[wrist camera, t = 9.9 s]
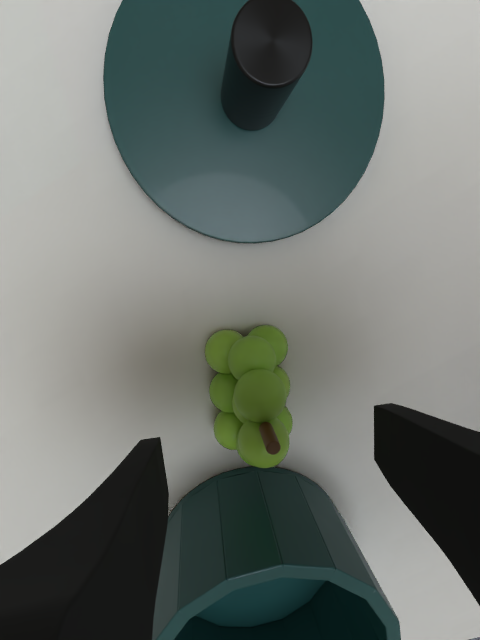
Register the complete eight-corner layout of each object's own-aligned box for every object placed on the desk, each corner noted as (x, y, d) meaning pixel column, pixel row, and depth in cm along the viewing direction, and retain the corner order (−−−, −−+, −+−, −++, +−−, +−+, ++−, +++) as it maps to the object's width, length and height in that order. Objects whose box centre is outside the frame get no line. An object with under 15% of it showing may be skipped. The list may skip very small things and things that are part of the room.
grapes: (287, 427, 18) (332, 514, 12) (214, 438, 18) (224, 533, 12) (280, 318, 17) (326, 357, 11) (202, 327, 17) (206, 372, 11)
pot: (377, 517, 20) (451, 627, 14) (272, 649, 21) (302, 802, 15) (228, 432, 18) (244, 521, 12) (118, 584, 19) (85, 734, 13)
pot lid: (420, 82, 16) (525, 6, 11) (275, 290, 17) (309, 309, 12) (210, -123, 13) (221, -344, 8) (56, 136, 14) (-17, 78, 9)
